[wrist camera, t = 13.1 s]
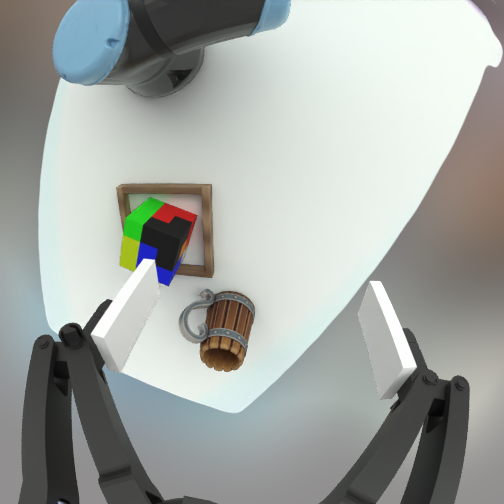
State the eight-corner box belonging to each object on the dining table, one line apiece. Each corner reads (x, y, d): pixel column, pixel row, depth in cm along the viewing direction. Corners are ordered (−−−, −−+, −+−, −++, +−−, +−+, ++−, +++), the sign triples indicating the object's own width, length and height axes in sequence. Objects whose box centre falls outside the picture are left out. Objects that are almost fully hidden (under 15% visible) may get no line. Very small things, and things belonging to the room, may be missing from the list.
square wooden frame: (121, 184, 48) (116, 187, 46) (211, 184, 46) (208, 188, 45) (134, 263, 57) (130, 269, 55) (214, 271, 56) (211, 277, 54)
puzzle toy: (184, 256, 55) (168, 286, 46) (141, 239, 54) (119, 265, 45) (197, 215, 50) (180, 239, 41) (150, 197, 49) (125, 217, 40)
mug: (265, 309, 60) (261, 362, 47) (233, 330, 64) (224, 381, 51) (211, 265, 55) (193, 316, 42) (182, 292, 59) (161, 341, 46)
